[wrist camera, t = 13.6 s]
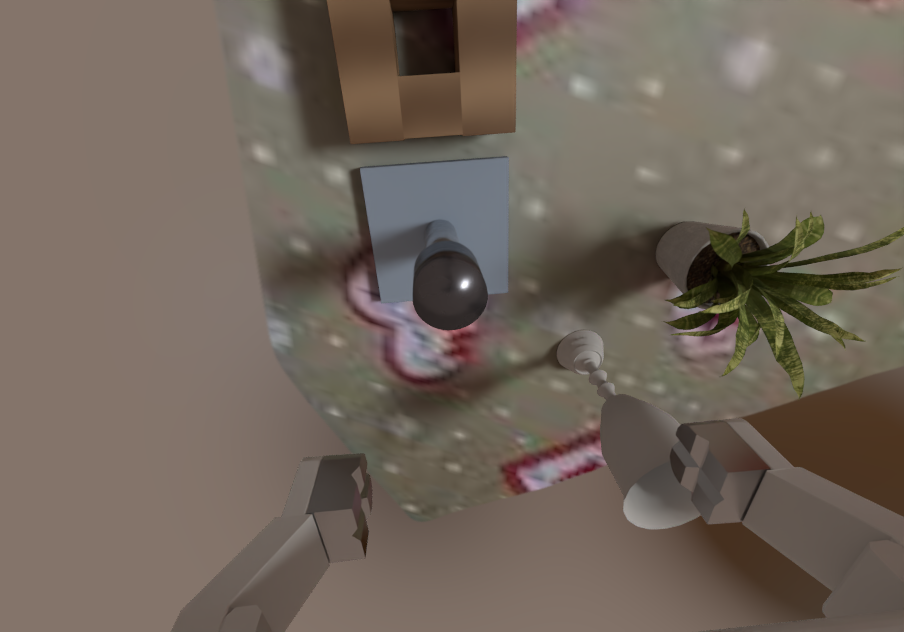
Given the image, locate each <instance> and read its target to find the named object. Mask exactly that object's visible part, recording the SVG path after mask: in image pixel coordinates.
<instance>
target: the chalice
mask: <svg viewBox="0 0 904 632" xmlns="http://www.w3.org/2000/svg"><path fill="white" fill-rule="evenodd" d="M557 359H558V361H559V363H560V364H561V365H562V366H563V367H564V368H567V369H569V370H570V371H573V372H574V373H577V374H590V376H589V382H590V383H591V384H592V385H597V386H598V390H597V393H598V395H599V396H601V397H604V398H605V399H606V400H607V401H606V402H605V403H604V404H603V406H602V410H601V425H600V439H601V448H602V455H603V457H604V459H605V461H606V463H607V465H608V467H609V469H610V471H611V473H612V474H613V476H614V478H615V480H616V482H617V484H618V486H619V488H620V490H621V492H622V494H623V495H624V508H623V511H624V513H625V515H626V517H627V519H628V521H630V522H631V523H633V524H634V525H636V526H638V527H642V528H646V529H665V528H670V527H674V526H678V525H681V524H684V523H686V522H688V521H691V520H693V519H695V518H697V517H698V516H700V515H701V514H700V513H699V511H698V510H697V508H696V507H695V505H694V504H693V502H692V501H691V491H690V490H688V489H687V488H685V487H683V486H682V485H680V483H679V482H678V480H677V479H676V477H675V475H674V473H673V471H672V468H671V463H670V453H671V449H672V447H673V446H674V445H675V444H676V443H677V442H678V441H679V439H678V438H677V436H676V431H677V428H678V427H679V426H680V424H679V423H678V422H677V421H676V420H675V419H674V418H673V417H672V416H671V415H670V414H668V413H666V412H665V411H663V410H661V409H659V408H658V407H656V406H654V405H652V404H650V403H647V402H645V401H642V400H639V399H637V398H634V397H631V396H629V395H626V394H619V395H615V392H614V385H613V384H612V383H608V382H607V381H606V378H607V374H606V372H605V371H603V370H599V369H598V368H599V367H600V366H601V364H602V362H603V359H604V354H603V341H602V339H601V337H600V336H599V335H598V334H597V333H595V332H593V331H590V330H580V331H576V332H573V333H571V334H569V335H568V336H566V337H565V338H564V339H563V340H562V341H561V343H560V344H559V346H558V349H557Z"/></svg>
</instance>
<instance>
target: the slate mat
mask: <svg viewBox="0 0 904 632" xmlns="http://www.w3.org/2000/svg"><path fill="white" fill-rule="evenodd" d="M360 173H361V179H362V185H363V192H364V198H365V204H366V210H367V216H368V223H369V229H370V235H371V241H372V248H373V254H374V260H375V266H376V273H377V279H378V285H379V291H380V298H381V303H393V302H404V301H413V272H414V265H415V262H416V259H417V257H418V256H419V254H420V253H421V252H422V251H423V250H424V249H425V240H424V233H425V229H426V227H427V226H428V225H429V224H430V223H431V222H433V221H435V220H439V219H442V220H446V221H448V222H450V223H451V224H452V225H453V226H454V228H455V230H456V233H457V237H458V240H459V243H460V244H463V245H464V246H466V247H467V248H469V249H470V250H471V251H472V253H473V254H474V256H475V257H476V259H477V262H478V265H479V267H480V270H481V272H482V275H483V278H484V280H485V283H486V286H487V291H488V294H498V293H508V175H509V157H507V156H503V157H490V158H476V159H463V160H449V161H436V162H422V163H409V164H395V165H382V166H368V167H361V168H360Z"/></svg>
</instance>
